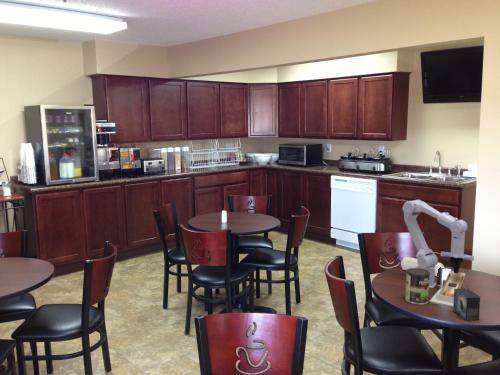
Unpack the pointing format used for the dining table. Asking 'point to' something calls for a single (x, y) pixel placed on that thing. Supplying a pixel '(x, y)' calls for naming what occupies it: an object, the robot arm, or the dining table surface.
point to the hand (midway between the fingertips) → (456, 272)
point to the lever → (453, 282)
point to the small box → (466, 304)
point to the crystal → (416, 264)
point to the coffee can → (417, 286)
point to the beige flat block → (444, 297)
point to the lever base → (433, 300)
